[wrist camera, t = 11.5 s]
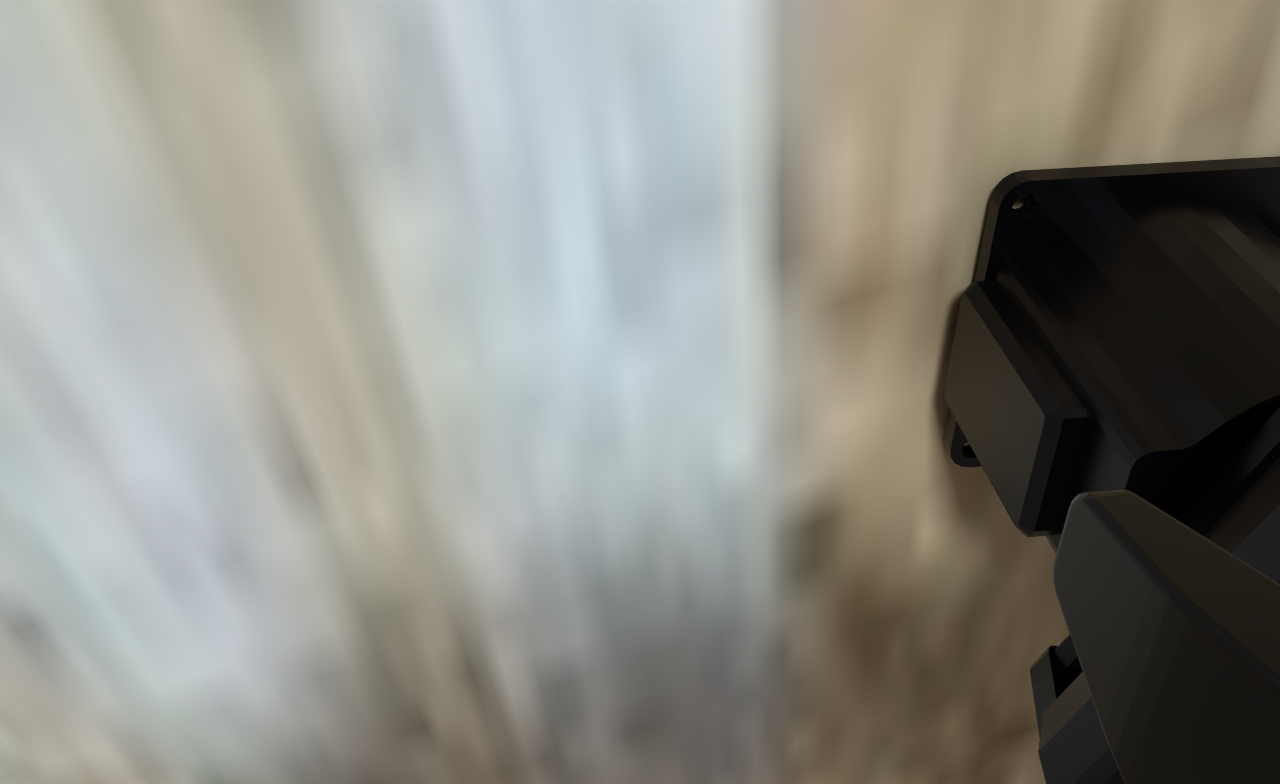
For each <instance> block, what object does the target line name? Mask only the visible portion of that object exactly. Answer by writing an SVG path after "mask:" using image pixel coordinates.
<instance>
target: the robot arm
mask: <svg viewBox="0 0 1280 784" xmlns="http://www.w3.org/2000/svg"><path fill="white" fill-rule="evenodd" d="M1027 193H1031V197H1030V199H1029V201H1028V202H1027V203H1026V204H1025V205H1024V206H1022V207H1020V208H1016V209H1013V208H1012V206H1013V204H1014V202H1015V200H1016V199H1018V198H1019V197H1020V196H1021V195H1024V194H1027ZM944 399H945V401H946V403H947V405H948V406H949V408H950V409H949V414H948V420H947V425H946V430H945V435H944V446H945V447H946V449H947V451H948V453H949V455H950V457H951V458H952V460H953V461H954V463H956V464H958V465H959V466H962V467H978V466H982V467H983V469H984V471H985V473H986V474H987V476H988V478H989V480H990V482H991V483H992V485H993V487H994V489H995V491H996V492H997V494H998V496H999V498H1000V500H1001V501H1002V503H1003V505H1004V507H1005V509H1006V510H1007V512H1008V514H1009V516H1010V518H1011V519H1012V521H1013V523H1014V525H1015V526H1016V527H1017V528H1018V529H1019V530H1020V531H1021V532H1023V533H1024V534H1025V535H1026V536H1027V537H1034V536H1045V535H1046V537H1047V539H1048V540H1049V542H1050V544H1051V546H1052V547H1053V549H1054V551H1055V552H1056V558H1055V562H1054V571H1053V577H1054V585H1055V591H1056V594H1057V597H1058V600H1059V603H1060V606H1061V609H1062V612H1063V615H1064V618H1065V621H1066V624H1067V626H1068V629H1069V632H1070V634H1069V635H1068V636H1067V637H1066V638H1065V639H1064V640H1063V642H1062V643H1061V644H1060V645H1059V646H1050V647H1049V648H1048V649H1047V650H1046V651H1045V652H1044V653H1043V654H1042V655H1041V656H1040V658H1039V659H1038V660H1037V661H1036V662H1035V663H1034V664H1033V665H1032V666H1031V668H1030V674H1031V681H1032V688H1033V695H1034V702H1035V708H1036V715H1037V722H1038V729H1039V736H1040V743H1039V750H1038V752H1039V756H1040V760H1041V764H1042V768H1043V772H1044V776H1045V780H1046V784H1280V156H1279V157H1261V158H1243V159H1224V160H1206V161H1188V162H1170V163H1151V164H1133V165H1115V166H1097V167H1078V168H1060V169H1042V170H1024V171H1019V172H1015V173H1011V174H1010V175H1008V176H1007V177H1005V178H1003V179H1002V180H1001V181H1000V182H999V183H998V185H997V186H996V187H995V189H994V191H993V193H992V196H991V199H990V205H989V210H988V215H987V220H986V225H985V230H984V235H983V240H982V246H981V251H980V256H979V261H978V266H977V271H976V276H975V281H973V282H972V283H970V285H969V286H968V287H967V289H966V290H965V291H964V292H963V294H962V298H961V304H960V309H959V314H958V319H957V325H956V330H955V335H954V340H953V346H952V351H951V356H950V361H949V367H948V372H947V377H946V383H945V388H944ZM967 442H969V444H970V445H967V446H964V444H965V443H967Z"/></svg>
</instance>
